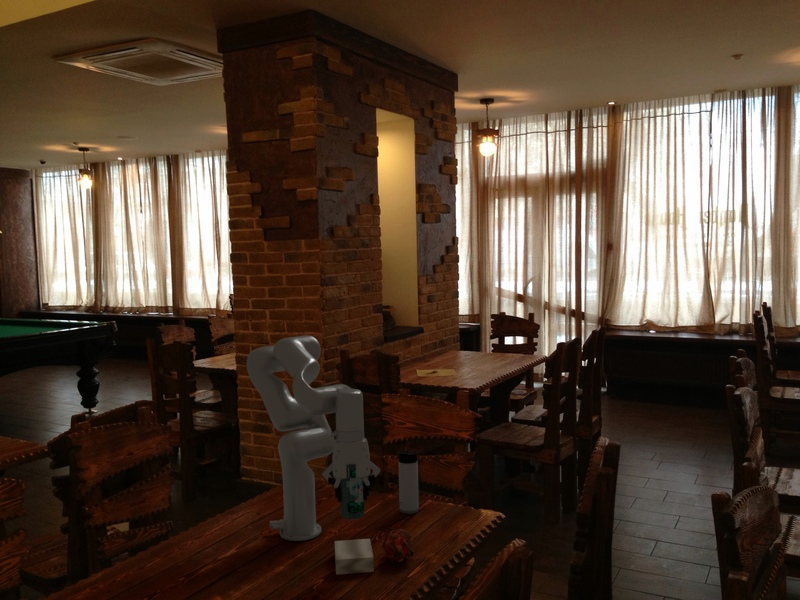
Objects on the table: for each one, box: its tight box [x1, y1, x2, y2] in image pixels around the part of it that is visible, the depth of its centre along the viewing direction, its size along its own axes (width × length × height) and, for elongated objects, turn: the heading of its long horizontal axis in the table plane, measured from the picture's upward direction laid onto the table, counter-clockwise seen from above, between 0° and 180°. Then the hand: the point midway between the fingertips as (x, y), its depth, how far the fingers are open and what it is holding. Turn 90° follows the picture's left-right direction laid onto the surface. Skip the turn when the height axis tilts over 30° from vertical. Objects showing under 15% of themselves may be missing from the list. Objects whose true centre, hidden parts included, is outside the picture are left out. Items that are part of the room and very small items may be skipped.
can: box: [339, 464, 366, 520], centre depth 190 cm, size 6×6×15 cm
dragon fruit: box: [381, 528, 415, 565], centre depth 193 cm, size 8×8×12 cm
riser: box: [334, 538, 375, 576], centre depth 192 cm, size 10×12×4 cm
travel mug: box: [398, 450, 420, 515], centre depth 228 cm, size 6×7×20 cm
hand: (352, 499), depth 190 cm, fingers closed on can, 6 cm apart
